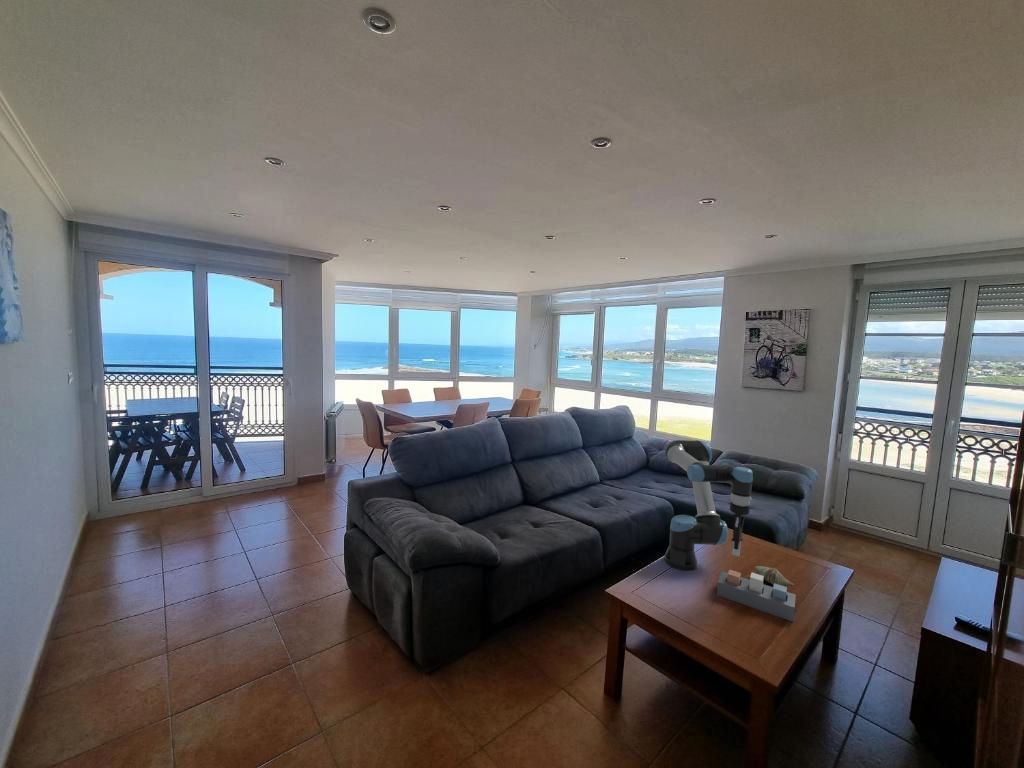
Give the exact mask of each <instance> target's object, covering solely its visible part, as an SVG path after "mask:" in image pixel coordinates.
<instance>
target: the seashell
mask: <svg viewBox="0 0 1024 768" xmlns="http://www.w3.org/2000/svg"><path fill="white" fill-rule="evenodd" d="M755 574H759V575H762V576H764V579H763V584H764V585H767V584H771V585H772V587H774V583H775V584H778V585H781V586H784V587H788V586H790V587H795V584H794V583H793V582H791V581H790V580H788V579H786V577H785V576H784V575H783V574H782V573H781V572H780V571H779V570H778V569H777V568H776V567H768V566H764V565H760V566H758V565H756V566H755Z"/></svg>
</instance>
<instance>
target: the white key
mask: <svg viewBox="0 0 1024 768" xmlns="http://www.w3.org/2000/svg"><path fill="white" fill-rule="evenodd" d="M763 579H764V576H762V575H759V574H756V572H751V574H750V576H749V580H750V584H749V589H750V590H753V591H756V592H759V593H762V590H763Z"/></svg>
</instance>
